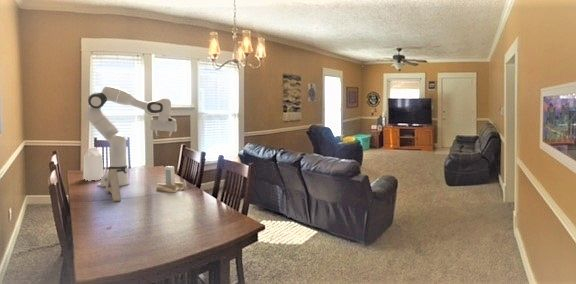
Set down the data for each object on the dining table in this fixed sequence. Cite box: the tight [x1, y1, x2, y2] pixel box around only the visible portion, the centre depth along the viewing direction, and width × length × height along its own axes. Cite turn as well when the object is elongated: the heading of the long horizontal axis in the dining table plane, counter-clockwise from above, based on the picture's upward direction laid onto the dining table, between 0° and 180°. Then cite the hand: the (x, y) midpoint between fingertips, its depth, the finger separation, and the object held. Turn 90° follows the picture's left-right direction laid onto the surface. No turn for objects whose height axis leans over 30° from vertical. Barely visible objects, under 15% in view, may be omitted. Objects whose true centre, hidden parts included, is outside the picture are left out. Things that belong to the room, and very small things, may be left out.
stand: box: [155, 181, 185, 193], centre depth 288 cm, size 11×16×4 cm
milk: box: [82, 146, 105, 182], centre depth 326 cm, size 12×12×26 cm
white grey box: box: [164, 165, 176, 185], centre depth 288 cm, size 4×6×15 cm
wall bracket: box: [105, 169, 122, 203], centre depth 269 cm, size 22×4×30 cm
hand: (163, 136), depth 313 cm, fingers open, 8 cm apart
